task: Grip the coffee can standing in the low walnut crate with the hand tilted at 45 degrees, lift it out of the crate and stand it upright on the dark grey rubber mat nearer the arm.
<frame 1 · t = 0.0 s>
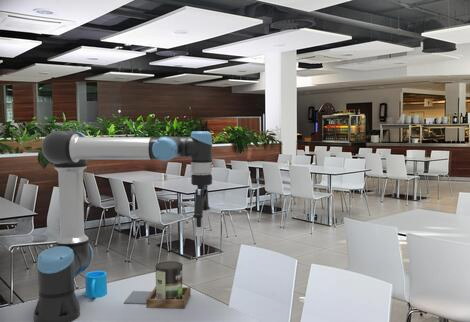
hand: (201, 231, 168), 28 cm above the table, tool pointing down, fingers open, 13 cm apart
mat: (139, 298, 177), on the table
crate: (169, 300, 174), on the table
mug: (95, 296, 180), on the table
coffee can: (169, 301, 174), resting in crate
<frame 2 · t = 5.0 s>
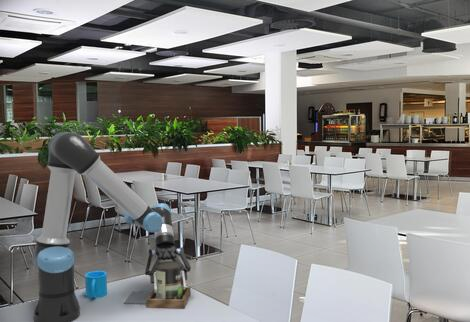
hand: (170, 289, 171), 6 cm above the table, tool tilted 45°, fingers closed on coffee can, 10 cm apart
coffee can: (169, 301, 174), resting in crate, touching gripper
everything else where it was.
when the fingers open (8 cm above the table, at t = 11.3 s): coffee can drops 2 cm, resting on mat.
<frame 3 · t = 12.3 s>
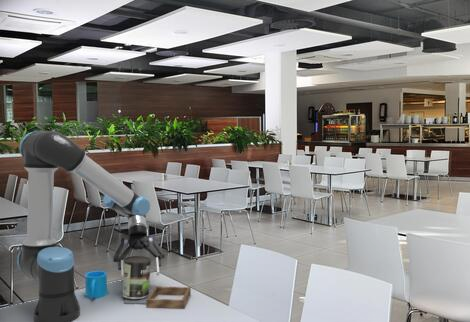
hand: (140, 275, 178), 8 cm above the table, tool tilted 45°, fingers open, 13 cm apart
coffee can: (135, 295, 178), point 1 cm above the table, touching gripper, mat
everything else where it was.
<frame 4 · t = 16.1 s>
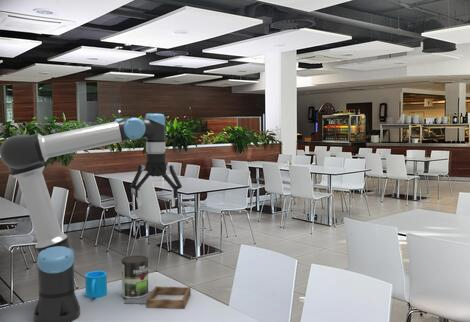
hand: (156, 206, 182), 35 cm above the table, tool pointing down, fingers open, 13 cm apart
coffee can: (135, 294, 180), resting on mat
everything else where it was.
at the end: coffee can inside the target area on the mat (3.9 cm from its centre), point 0.3 cm above the mat's base; coffee can tilted 0°; the gripper is holding nothing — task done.
